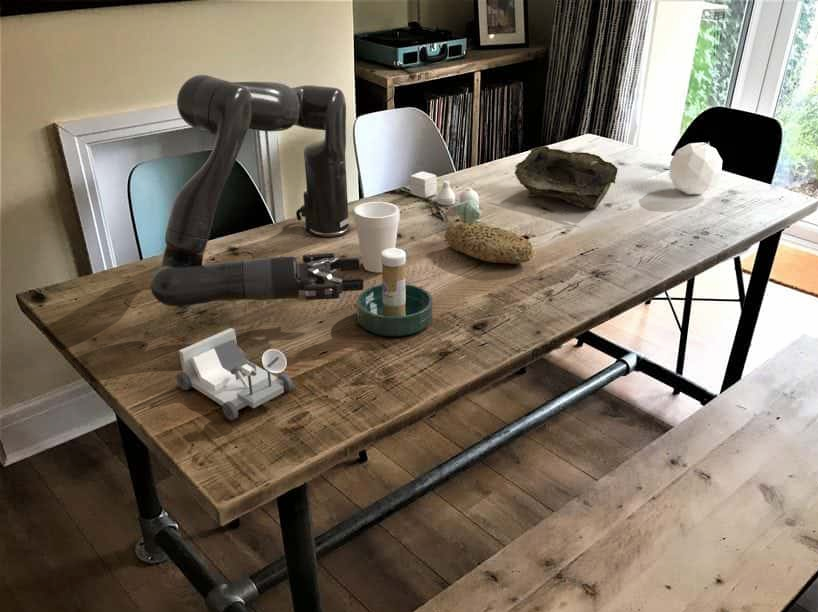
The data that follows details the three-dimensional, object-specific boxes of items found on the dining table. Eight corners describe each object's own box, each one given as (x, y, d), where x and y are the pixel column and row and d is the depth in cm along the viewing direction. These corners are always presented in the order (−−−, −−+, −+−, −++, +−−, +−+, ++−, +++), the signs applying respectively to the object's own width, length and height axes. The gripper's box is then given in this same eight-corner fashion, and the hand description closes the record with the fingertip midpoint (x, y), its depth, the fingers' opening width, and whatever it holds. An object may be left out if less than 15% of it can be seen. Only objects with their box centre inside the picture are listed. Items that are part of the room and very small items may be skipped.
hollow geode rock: (610, 230, 205) (636, 181, 206) (596, 208, 194) (624, 156, 195) (522, 201, 219) (547, 155, 221) (505, 178, 208) (531, 130, 210)
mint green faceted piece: (450, 225, 193) (451, 199, 189) (459, 220, 196) (460, 194, 192) (477, 233, 189) (478, 206, 185) (486, 228, 192) (488, 201, 188)
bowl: (345, 330, 147) (343, 309, 145) (376, 298, 159) (376, 278, 156) (415, 345, 143) (415, 323, 141) (442, 310, 155) (443, 290, 153)
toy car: (299, 346, 123) (238, 376, 115) (304, 398, 128) (245, 430, 120) (229, 309, 132) (168, 334, 125) (236, 359, 137) (177, 386, 130)
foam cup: (406, 261, 174) (406, 205, 167) (389, 278, 166) (388, 220, 160) (367, 254, 177) (365, 199, 170) (349, 271, 169) (346, 213, 162)
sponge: (439, 255, 180) (494, 269, 165) (441, 220, 178) (497, 231, 163) (484, 252, 188) (541, 265, 173) (486, 219, 186) (543, 229, 171)
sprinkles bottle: (377, 317, 150) (375, 252, 143) (394, 309, 153) (393, 245, 146) (394, 325, 148) (393, 259, 141) (411, 316, 151) (411, 252, 144)
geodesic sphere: (685, 156, 226) (680, 123, 215) (734, 166, 219) (731, 132, 208) (663, 198, 223) (657, 166, 211) (712, 209, 216) (708, 177, 204)
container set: (410, 195, 210) (410, 175, 207) (422, 190, 213) (422, 170, 211) (470, 213, 200) (471, 192, 197) (482, 207, 203) (483, 187, 201)
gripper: (268, 276, 134) (364, 271, 137) (269, 243, 146) (357, 239, 149) (272, 315, 138) (365, 309, 140) (273, 280, 150) (358, 275, 152)
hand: (361, 273), depth 145 cm, fingers open, 8 cm apart
